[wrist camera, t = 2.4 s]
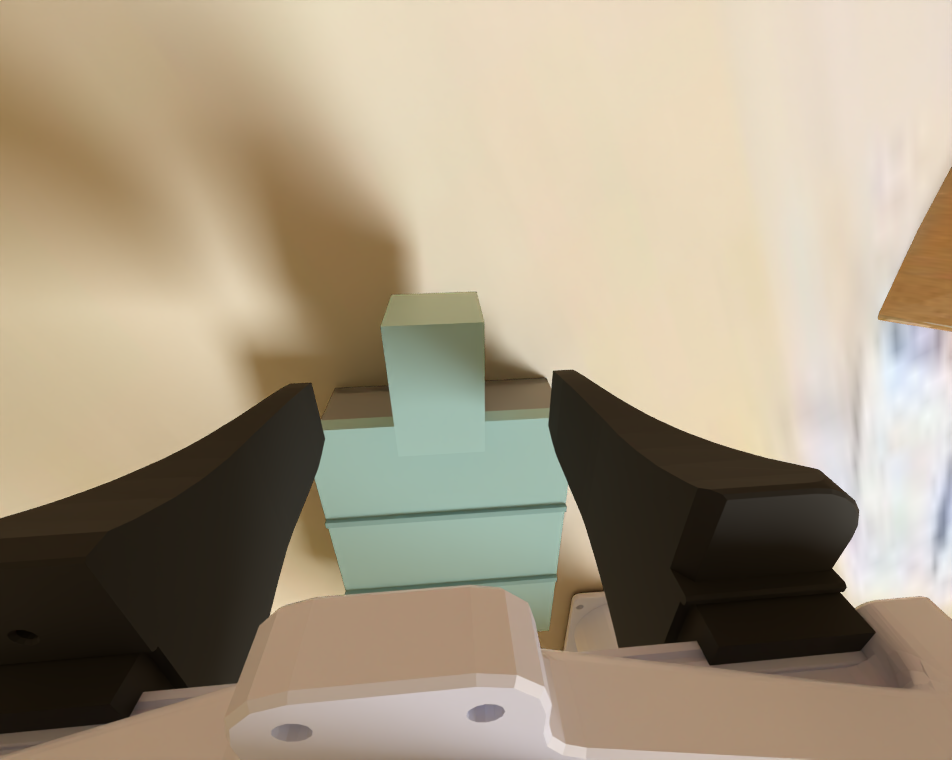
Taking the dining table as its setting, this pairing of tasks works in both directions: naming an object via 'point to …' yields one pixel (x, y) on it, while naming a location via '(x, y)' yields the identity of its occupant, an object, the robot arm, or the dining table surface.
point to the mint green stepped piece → (443, 470)
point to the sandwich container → (926, 271)
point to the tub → (496, 399)
